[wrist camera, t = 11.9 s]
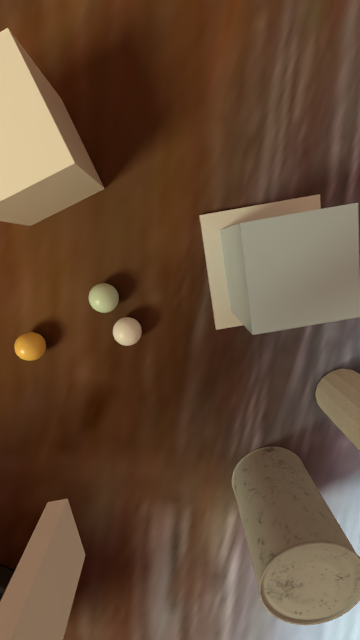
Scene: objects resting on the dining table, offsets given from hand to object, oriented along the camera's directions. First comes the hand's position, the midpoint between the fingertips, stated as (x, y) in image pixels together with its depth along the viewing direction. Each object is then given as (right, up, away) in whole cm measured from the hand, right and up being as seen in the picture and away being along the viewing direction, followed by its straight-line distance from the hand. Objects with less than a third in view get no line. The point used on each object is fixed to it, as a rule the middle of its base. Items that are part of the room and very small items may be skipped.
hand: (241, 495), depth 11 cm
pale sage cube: (+6, +12, +19) cm, 24 cm away
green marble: (-10, +9, +20) cm, 24 cm away
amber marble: (-20, +4, +20) cm, 28 cm away
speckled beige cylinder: (+9, -14, +26) cm, 31 cm away
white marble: (-8, +6, +21) cm, 23 cm away
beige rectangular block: (-15, +22, +17) cm, 32 cm away
